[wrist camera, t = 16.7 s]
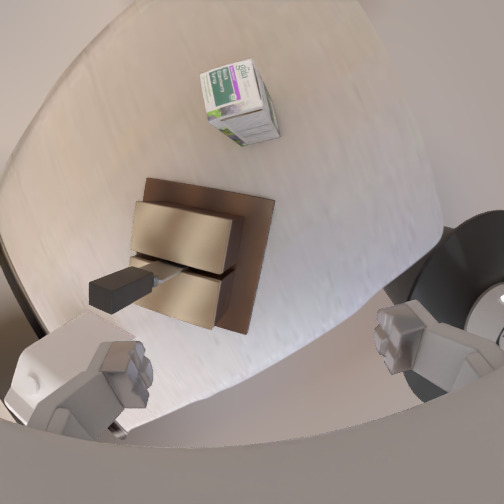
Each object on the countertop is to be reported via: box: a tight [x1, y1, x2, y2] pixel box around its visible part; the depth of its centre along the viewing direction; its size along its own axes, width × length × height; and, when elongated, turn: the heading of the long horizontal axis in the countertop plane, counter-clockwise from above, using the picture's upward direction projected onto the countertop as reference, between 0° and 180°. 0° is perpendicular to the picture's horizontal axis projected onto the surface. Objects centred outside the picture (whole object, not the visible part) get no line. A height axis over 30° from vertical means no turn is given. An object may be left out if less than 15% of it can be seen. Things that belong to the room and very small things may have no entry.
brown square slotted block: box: [129, 178, 275, 335], centre depth 40 cm, size 20×20×8 cm
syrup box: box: [199, 59, 280, 146], centre depth 32 cm, size 6×6×14 cm
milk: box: [4, 310, 135, 426], centre depth 39 cm, size 12×12×26 cm
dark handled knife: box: [89, 259, 189, 315], centre depth 30 cm, size 4×2×15 cm, turn 79°
